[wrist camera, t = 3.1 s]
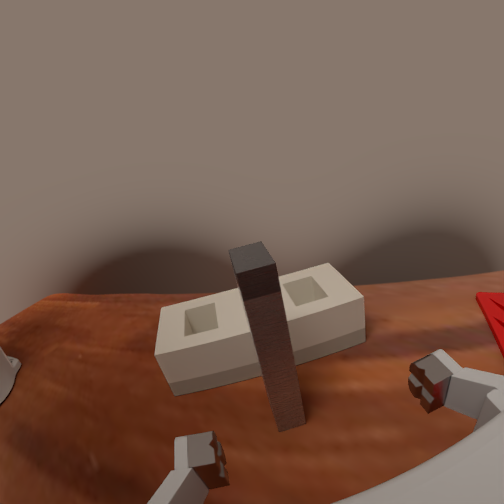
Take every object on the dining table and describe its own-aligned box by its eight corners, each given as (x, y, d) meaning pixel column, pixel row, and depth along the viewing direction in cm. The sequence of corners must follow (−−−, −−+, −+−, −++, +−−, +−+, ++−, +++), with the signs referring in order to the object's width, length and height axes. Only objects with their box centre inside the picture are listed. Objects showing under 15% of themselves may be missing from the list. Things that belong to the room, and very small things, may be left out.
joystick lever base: (174, 396, 32) (154, 355, 30) (176, 345, 42) (161, 307, 40) (365, 341, 34) (363, 296, 32) (332, 302, 44) (328, 262, 41)
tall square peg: (305, 423, 26) (275, 262, 20) (279, 432, 26) (236, 273, 20) (292, 391, 30) (261, 241, 24) (268, 399, 30) (228, 249, 24)
